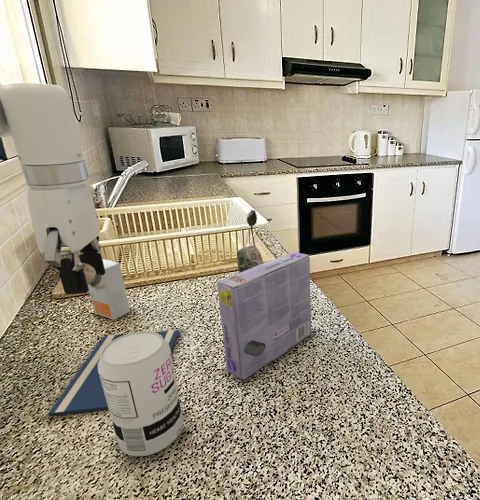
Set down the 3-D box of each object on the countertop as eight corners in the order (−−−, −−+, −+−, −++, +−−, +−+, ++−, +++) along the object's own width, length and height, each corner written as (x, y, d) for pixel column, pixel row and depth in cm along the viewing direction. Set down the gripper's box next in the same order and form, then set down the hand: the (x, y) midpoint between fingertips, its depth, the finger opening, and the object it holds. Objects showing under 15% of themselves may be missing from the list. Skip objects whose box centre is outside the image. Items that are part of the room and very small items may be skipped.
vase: (66, 301, 58) (55, 266, 56) (63, 288, 62) (53, 255, 60) (106, 292, 61) (98, 258, 59) (101, 280, 65) (93, 248, 63)
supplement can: (123, 422, 55) (100, 336, 49) (184, 406, 58) (169, 323, 52) (115, 468, 48) (88, 374, 42) (184, 447, 51) (167, 357, 46)
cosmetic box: (94, 314, 82) (81, 264, 77) (112, 305, 85) (100, 257, 81) (113, 320, 80) (101, 270, 75) (131, 311, 83) (120, 262, 79)
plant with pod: (229, 293, 92) (220, 215, 85) (261, 277, 101) (256, 205, 94) (253, 302, 88) (246, 222, 81) (284, 284, 97) (281, 210, 90)
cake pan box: (298, 323, 80) (296, 247, 74) (316, 332, 78) (315, 253, 71) (224, 371, 66) (213, 281, 59) (243, 383, 63) (233, 290, 56)
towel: (49, 416, 55) (47, 413, 55) (104, 338, 74) (103, 335, 73) (150, 404, 58) (149, 401, 58) (179, 332, 76) (179, 329, 76)
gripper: (58, 165, 62) (84, 264, 69) (-13, 187, 47) (30, 312, 53) (107, 165, 64) (129, 261, 70) (55, 185, 48) (89, 307, 55)
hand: (86, 282), depth 62 cm, fingers closed on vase, 5 cm apart
